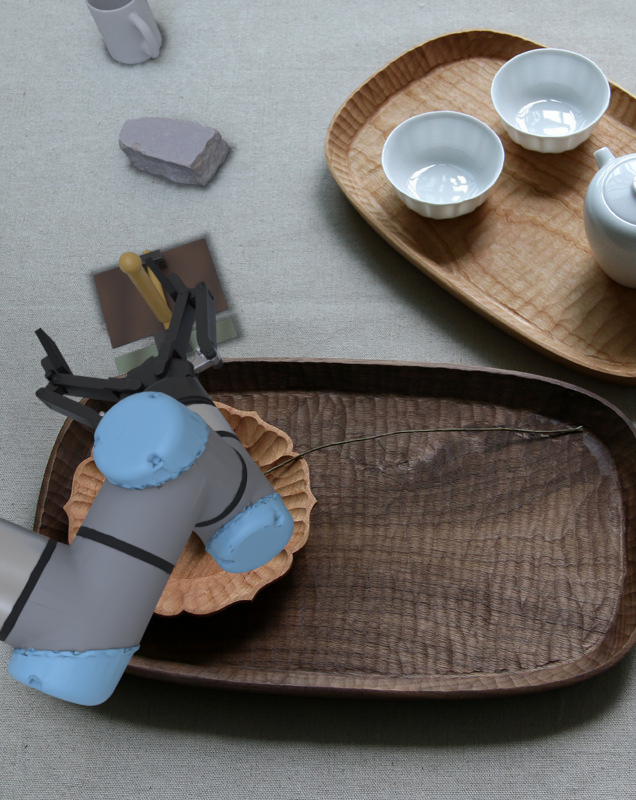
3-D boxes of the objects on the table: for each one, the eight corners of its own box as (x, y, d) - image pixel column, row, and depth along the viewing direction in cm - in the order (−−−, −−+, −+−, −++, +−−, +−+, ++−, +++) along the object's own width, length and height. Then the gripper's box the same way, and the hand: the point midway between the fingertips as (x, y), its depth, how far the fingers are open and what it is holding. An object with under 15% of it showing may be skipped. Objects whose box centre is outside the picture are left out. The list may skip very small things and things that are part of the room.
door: (123, 381, 106) (112, 369, 103) (97, 280, 113) (85, 265, 109) (240, 341, 108) (232, 327, 104) (207, 243, 114) (199, 227, 110)
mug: (100, 49, 129) (71, -9, 119) (143, 20, 131) (118, -40, 121) (145, 90, 125) (119, 33, 115) (188, 60, 127) (166, 1, 117)
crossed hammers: (167, 355, 106) (125, 296, 91) (139, 258, 112) (95, 187, 97) (186, 348, 106) (147, 288, 91) (157, 252, 112) (116, 181, 97)
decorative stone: (231, 192, 118) (232, 136, 121) (219, 163, 111) (220, 104, 114) (131, 201, 118) (135, 144, 121) (113, 172, 112) (118, 113, 115)
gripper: (90, 525, 78) (18, 385, 89) (303, 375, 82) (209, 260, 93) (46, 492, 71) (-25, 347, 82) (279, 332, 75) (182, 214, 86)
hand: (99, 300), depth 88 cm, fingers open, 13 cm apart
